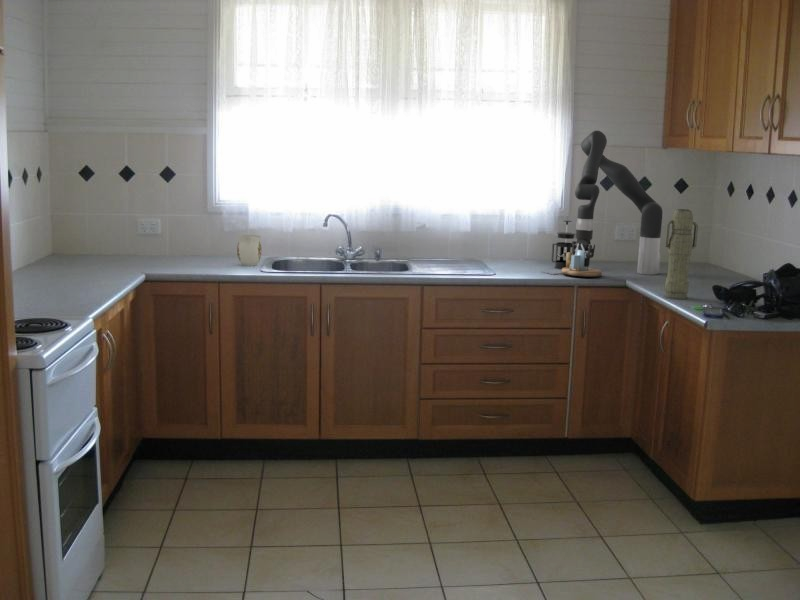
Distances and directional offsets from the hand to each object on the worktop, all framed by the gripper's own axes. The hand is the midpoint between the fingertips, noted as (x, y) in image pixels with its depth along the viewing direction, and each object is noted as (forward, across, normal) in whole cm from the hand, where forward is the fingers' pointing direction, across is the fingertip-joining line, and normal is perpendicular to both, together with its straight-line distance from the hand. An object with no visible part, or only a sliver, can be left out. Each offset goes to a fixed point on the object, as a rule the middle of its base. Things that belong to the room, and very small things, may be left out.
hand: (581, 265), depth 397 cm
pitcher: (+5, -68, -136) cm, 152 cm away
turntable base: (+5, 0, 0) cm, 5 cm away
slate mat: (+5, -10, -7) cm, 13 cm away
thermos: (+5, +58, +3) cm, 58 cm away
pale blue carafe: (+2, 0, -2) cm, 3 cm away
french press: (+5, -22, +6) cm, 23 cm away
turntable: (+4, 0, 0) cm, 4 cm away
